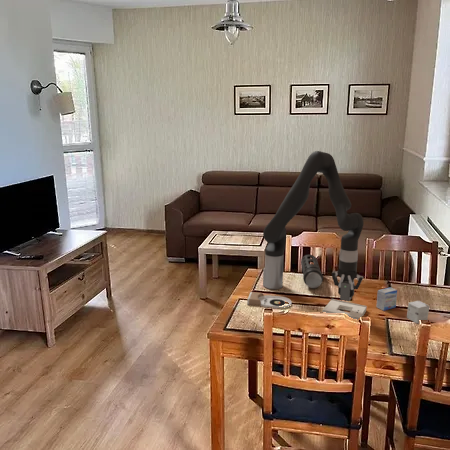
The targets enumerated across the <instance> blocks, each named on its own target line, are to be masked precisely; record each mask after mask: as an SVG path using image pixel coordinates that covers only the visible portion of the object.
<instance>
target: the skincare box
mask: <svg viewBox="0 0 450 450" xmlns="http://www.w3.org/2000/svg"><path fill="white" fill-rule="evenodd" d="M407 306H408V307H407V311H406V312H407V313H406V318H407V320H410V321H412V322H414V324H415V323H416V324H420V323H419V320H427V321H428V320H429V319H428V318H429V310H430V305H428V304H426V303H425V302H422V301H421V300H415V301H410V302H408V305H407Z"/></svg>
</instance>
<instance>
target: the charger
mask: <svg viewBox="0 0 450 450" xmlns="http://www.w3.org/2000/svg"><path fill="white" fill-rule="evenodd" d="M350 286H351V285H350V284H349V282H347V281H343V282H341V290H340V295H339V300H340V301H345V302H350V301H351V299H352V298H351V297H350V290H351V287H350Z"/></svg>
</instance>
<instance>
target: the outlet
mask: <svg viewBox="0 0 450 450" xmlns="http://www.w3.org/2000/svg"><path fill="white" fill-rule="evenodd" d="M367 307H368V306H367V305H363V304H359V303H353V302H350V301H345V300H340V299H339V300H338V299H334V298H331V299H330V301H329V302H327V304H326V305H325V307H324V308H323V309H322V310H321V313H322V312H326V313H345V314H347V315H348V316H349V317H351V318H353V319H357V320H358V319H359V318H360V317H362V316H363V317H364V315H365V314H366V312H367ZM363 317H362V318H363Z"/></svg>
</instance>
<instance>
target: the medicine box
mask: <svg viewBox="0 0 450 450" xmlns="http://www.w3.org/2000/svg"><path fill="white" fill-rule="evenodd" d="M376 296H377V297H376V308H377V309H379V310H381V311H384V312H385V311H388V310H391V309H394V308H396V307H397V298H398V297H397V296H398V289H395V288H393V287H391V286H390V287H386V288H382V289H378V290H377V295H376Z"/></svg>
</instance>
